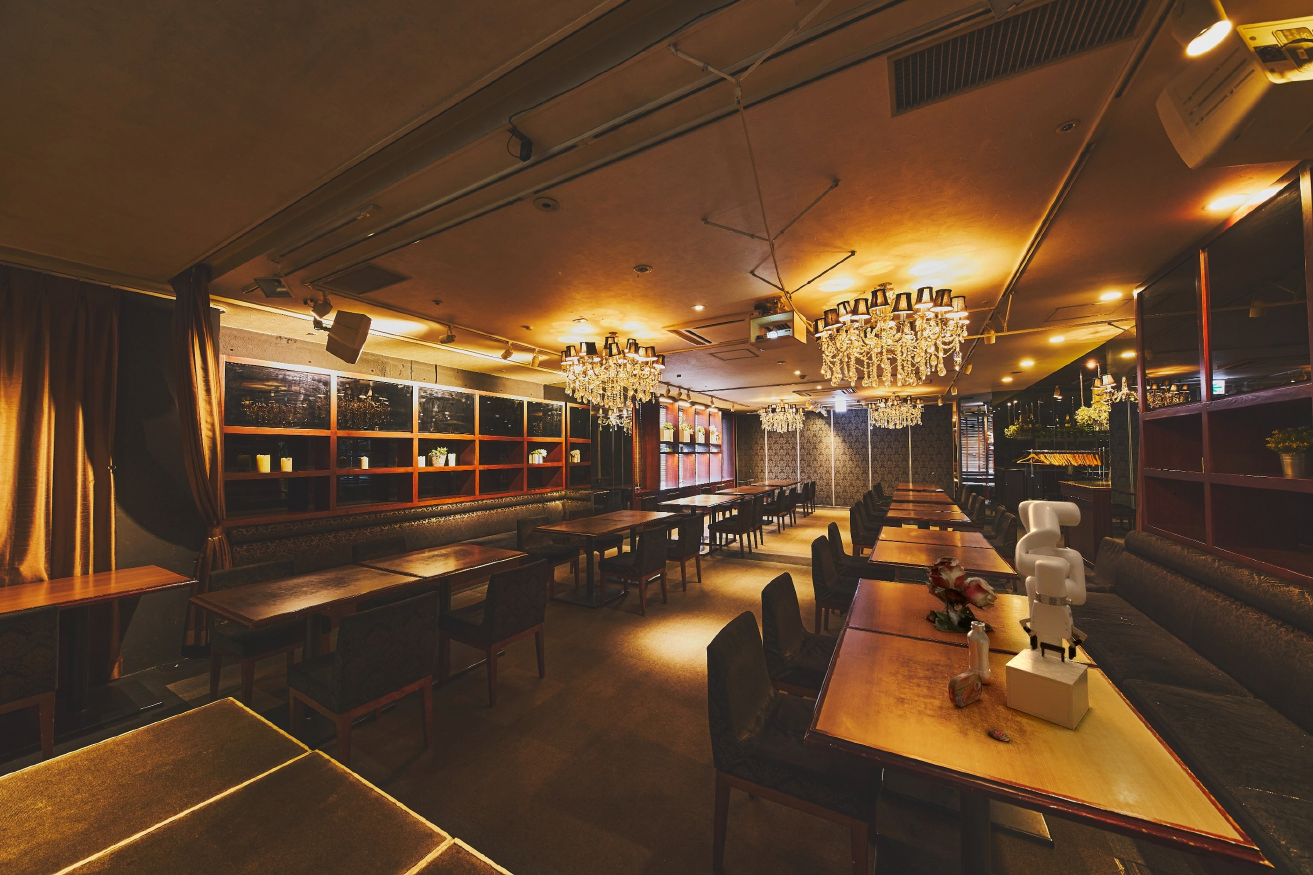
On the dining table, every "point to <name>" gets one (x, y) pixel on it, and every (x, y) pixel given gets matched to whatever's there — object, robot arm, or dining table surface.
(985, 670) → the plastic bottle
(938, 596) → the rose bouquet
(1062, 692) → the bin
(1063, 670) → the bin lid
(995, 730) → the matchbox
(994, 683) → the dining table surface
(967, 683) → the tin
